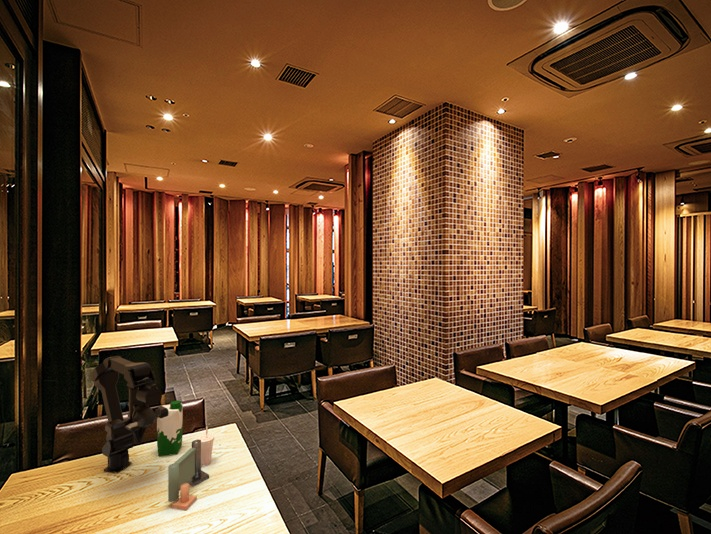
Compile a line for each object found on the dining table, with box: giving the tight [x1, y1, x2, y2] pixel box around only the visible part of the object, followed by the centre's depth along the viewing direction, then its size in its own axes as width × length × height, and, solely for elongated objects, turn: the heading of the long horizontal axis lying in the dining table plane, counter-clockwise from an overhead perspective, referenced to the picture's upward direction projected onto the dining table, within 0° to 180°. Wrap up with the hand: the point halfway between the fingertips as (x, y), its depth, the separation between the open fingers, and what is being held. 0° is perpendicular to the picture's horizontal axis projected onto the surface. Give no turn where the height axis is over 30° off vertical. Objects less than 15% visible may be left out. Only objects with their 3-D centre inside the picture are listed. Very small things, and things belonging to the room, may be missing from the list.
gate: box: [167, 447, 196, 503], centre depth 115 cm, size 12×3×10 cm, turn 174°
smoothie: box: [196, 426, 215, 466], centre depth 133 cm, size 6×6×14 cm
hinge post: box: [187, 439, 210, 488], centre depth 123 cm, size 6×6×14 cm
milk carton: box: [156, 400, 184, 457], centre depth 142 cm, size 9×9×20 cm
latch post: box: [171, 483, 198, 511], centre depth 110 cm, size 5×5×6 cm
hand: (138, 443), depth 123 cm, fingers closed
